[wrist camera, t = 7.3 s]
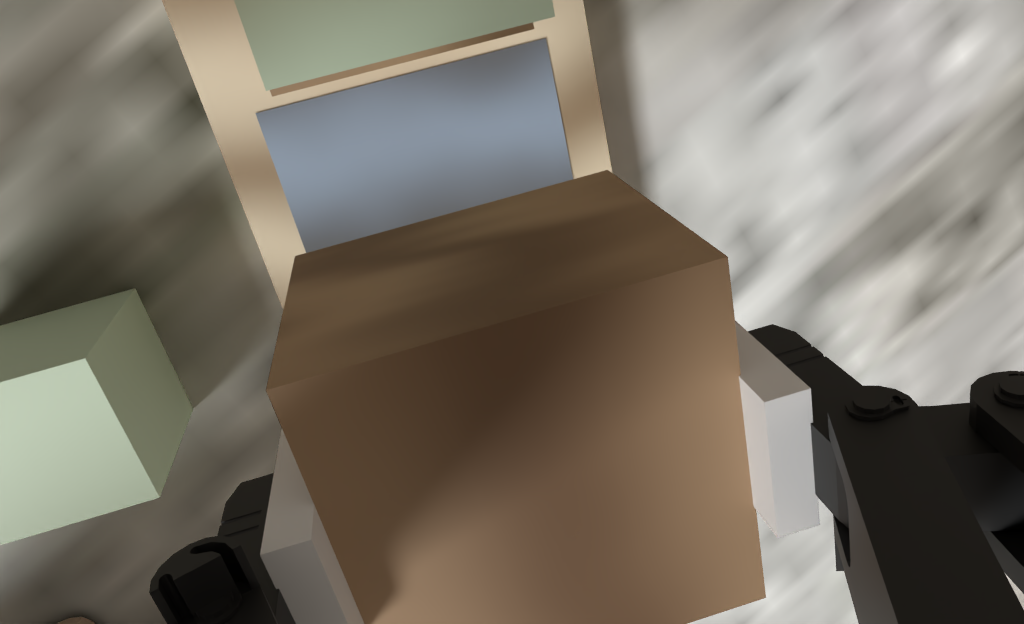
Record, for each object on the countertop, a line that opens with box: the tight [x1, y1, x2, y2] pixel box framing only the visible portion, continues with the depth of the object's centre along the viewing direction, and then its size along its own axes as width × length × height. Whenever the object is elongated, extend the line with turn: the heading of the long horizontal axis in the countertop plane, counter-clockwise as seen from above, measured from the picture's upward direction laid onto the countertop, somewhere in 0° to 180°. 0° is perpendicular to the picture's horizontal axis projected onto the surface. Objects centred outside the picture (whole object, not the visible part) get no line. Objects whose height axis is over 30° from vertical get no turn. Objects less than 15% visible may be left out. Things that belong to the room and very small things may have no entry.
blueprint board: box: [162, 0, 612, 309], centre depth 27 cm, size 22×13×2 cm, turn 13°
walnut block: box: [266, 170, 766, 624], centre depth 15 cm, size 7×7×6 cm
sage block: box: [0, 288, 193, 545], centre depth 27 cm, size 6×6×6 cm
